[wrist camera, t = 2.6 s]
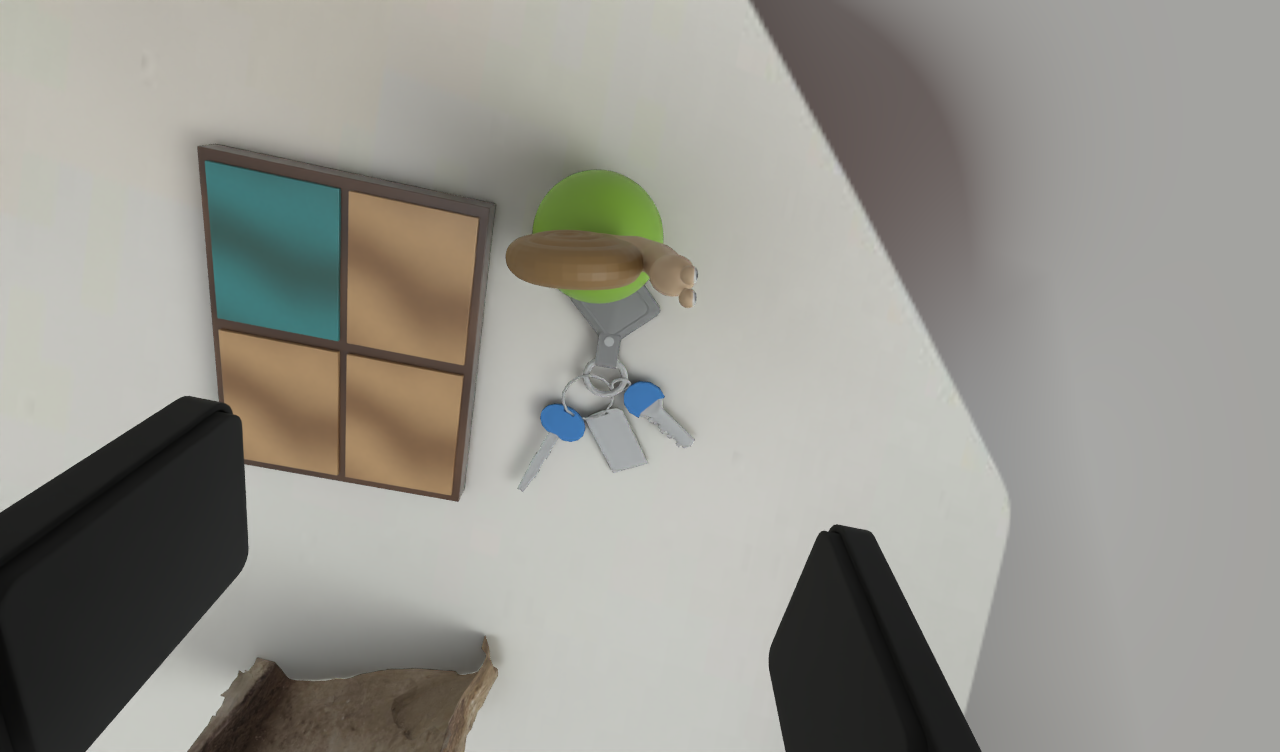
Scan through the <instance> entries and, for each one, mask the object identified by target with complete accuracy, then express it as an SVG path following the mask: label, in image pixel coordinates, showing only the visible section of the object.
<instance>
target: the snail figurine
mask: <svg viewBox="0 0 1280 752" xmlns="http://www.w3.org/2000/svg"><path fill="white" fill-rule="evenodd" d="M506 263H507V266H508V268H509V269H510V271H511V272H512V273H513V274H514V275H515V276H517V277H518V278H520V279H522V280H524V281H526V282H529V283H532V284H535V285H539V286H544V287H550V288H557V289H559V290H560V291H561V292H563V293H564V294H566V295H568V296H570V297H572V298H574V299H576V300H579V301H583V302H587V303H597V304H600V303H610V302H615V301H618V300H621V299H624V298H626V297H628V296H630V295H631V294H633V293H635V292H636V291H637V290H639V289H640V288H641V287H642V286H643V285H644V284H645V283H646V282H647V281H648V280H649V278H650V281H651V284H652V285H653V287H654V288H655V289H656V290H657V291H658V292H660V293H661V294H663V295H666V296H679V302H680V304H681V305H682V306H683V307H685V308H691V307H693V306H694V305H695V303H696V293H695V291H694V290H692V289H691V288H692V287H693V285H694V284H695V282H696V281H697V277H698V271H697V269H696V268H695V267H694V266H693V265H692V263H691V262H690V260H688V259H687V258H685V257H683V256H681V255H678V254H677V253H676V252H675V251H674V250H673V249H672V248H670V247H669V246H667V245H665V244H663V227H662V222H661V218H660V215H659V212H658V210H657V208H656V206H655V204H654V202H653V201H652V199H651V198H650V196H649V195H648V194H647V193H646V192H645V190H644V189H643V188H642V187H640V186H639V185H638V184H637V183H636V182H634V181H633V180H631V179H629V178H628V177H626V176H624V175H621V174H619V173H616V172H612V171H607V170H587V171H582V172H578V173H575V174H573V175H570V176H568V177H566V178H565V179H563V180H561V181H560V182H559V183H557V184H556V185H555V186H554V187H553V188H552V189H551V190H550V191H549V192H548V193H547V194H546V196H545V197H544V199H543V200H542V202H541V204H540V205H539V208H538V210H537V212H536V215H535V219H534V224H533V232H532V234H530V235H526V236H522V237H520V238H517V239H516V240H514V241H513V242H512V243H511V244H510V245H509V247H508V248H507V251H506Z"/></svg>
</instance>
